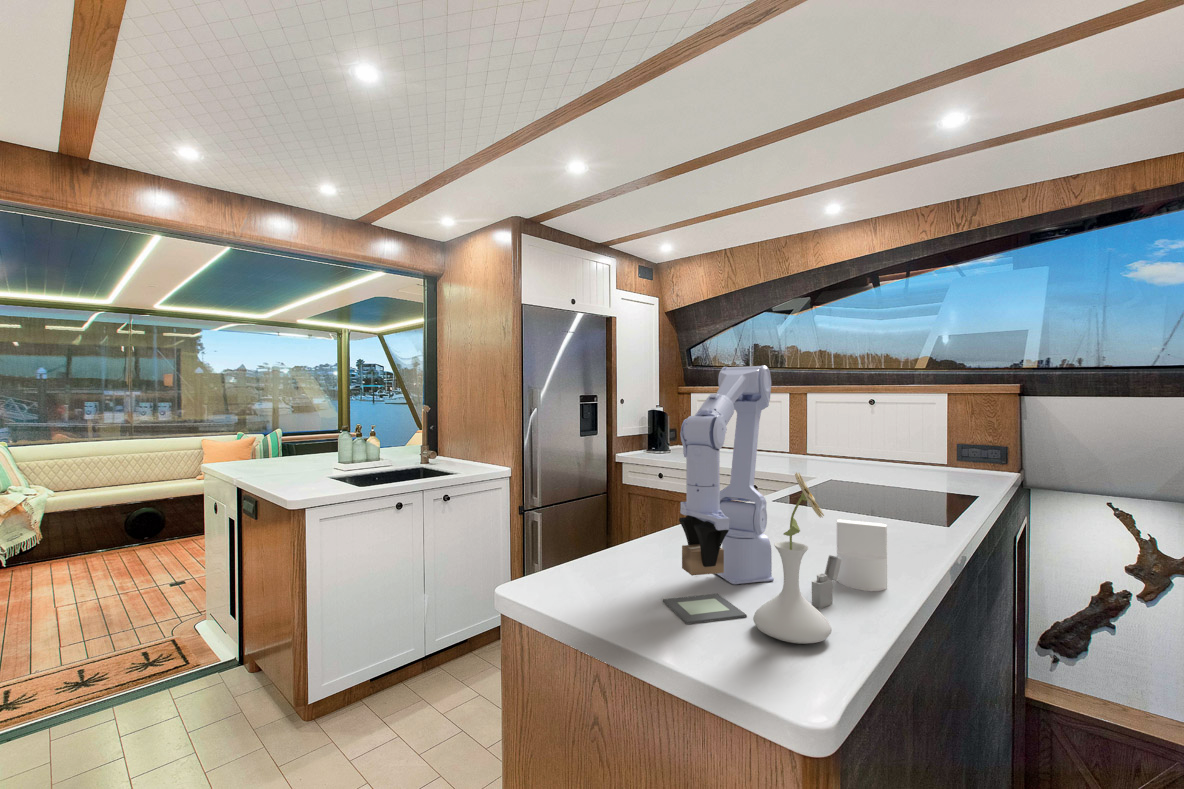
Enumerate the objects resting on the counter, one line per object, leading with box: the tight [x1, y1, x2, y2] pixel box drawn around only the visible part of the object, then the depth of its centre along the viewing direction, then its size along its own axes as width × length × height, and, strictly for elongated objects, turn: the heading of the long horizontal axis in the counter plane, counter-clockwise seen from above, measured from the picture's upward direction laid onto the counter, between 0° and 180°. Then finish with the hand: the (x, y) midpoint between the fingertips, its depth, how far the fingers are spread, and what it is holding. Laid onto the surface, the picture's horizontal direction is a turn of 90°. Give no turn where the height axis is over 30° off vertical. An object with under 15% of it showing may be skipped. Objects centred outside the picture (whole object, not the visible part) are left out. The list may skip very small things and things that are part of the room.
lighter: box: [811, 554, 841, 610], centre depth 93 cm, size 7×2×8 cm, turn 126°
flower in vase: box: [752, 471, 832, 645], centre depth 81 cm, size 13×11×25 cm
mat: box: [662, 593, 748, 625], centre depth 90 cm, size 11×10×1 cm
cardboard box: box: [681, 544, 724, 577], centre depth 90 cm, size 4×6×4 cm, turn 104°
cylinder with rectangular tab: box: [836, 518, 888, 592], centre depth 104 cm, size 9×9×12 cm
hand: (703, 561), depth 90 cm, fingers closed on cardboard box, 4 cm apart
